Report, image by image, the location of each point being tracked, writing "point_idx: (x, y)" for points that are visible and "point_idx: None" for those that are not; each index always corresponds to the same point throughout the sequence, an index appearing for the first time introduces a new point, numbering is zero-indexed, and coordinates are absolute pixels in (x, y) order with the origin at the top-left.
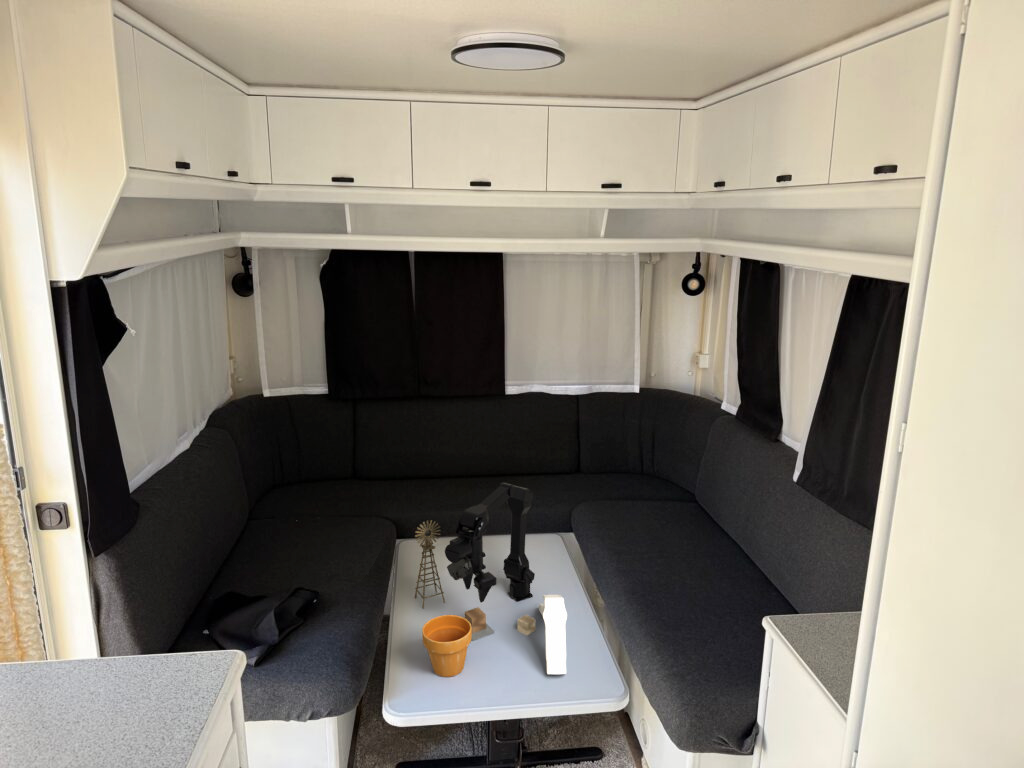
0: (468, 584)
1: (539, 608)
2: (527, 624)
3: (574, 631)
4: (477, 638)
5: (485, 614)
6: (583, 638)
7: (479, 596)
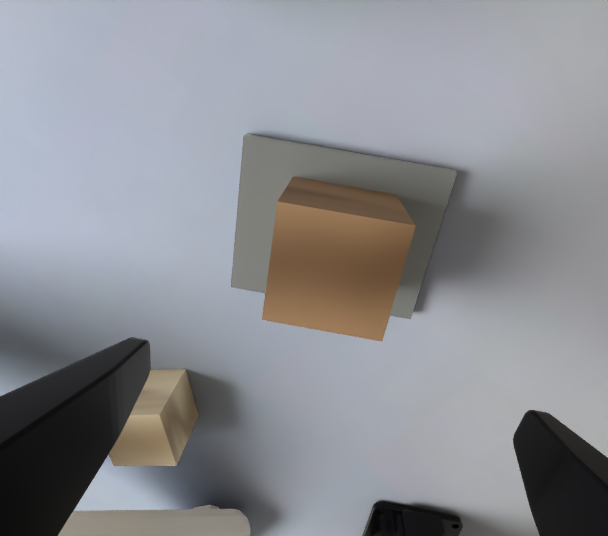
0: (553, 494)
1: (163, 529)
2: None
3: None
4: (241, 175)
5: (262, 317)
6: None
7: (47, 389)
